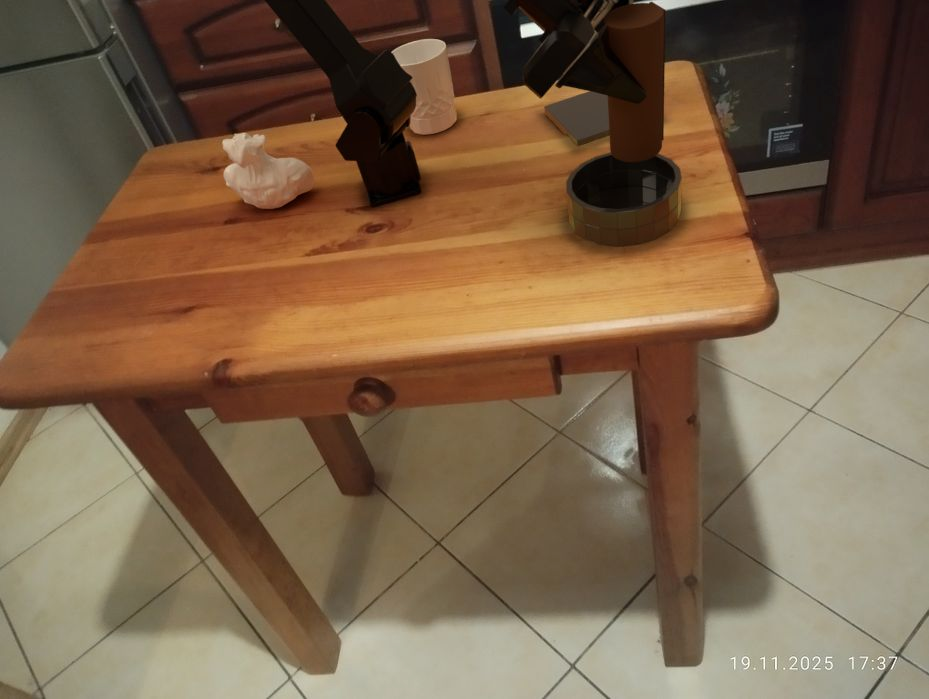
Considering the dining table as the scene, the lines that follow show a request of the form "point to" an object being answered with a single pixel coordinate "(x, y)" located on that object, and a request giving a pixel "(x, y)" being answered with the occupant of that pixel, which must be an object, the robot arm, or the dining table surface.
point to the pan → (624, 199)
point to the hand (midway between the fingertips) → (650, 84)
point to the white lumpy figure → (264, 173)
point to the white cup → (429, 84)
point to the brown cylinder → (644, 56)
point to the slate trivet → (581, 117)
